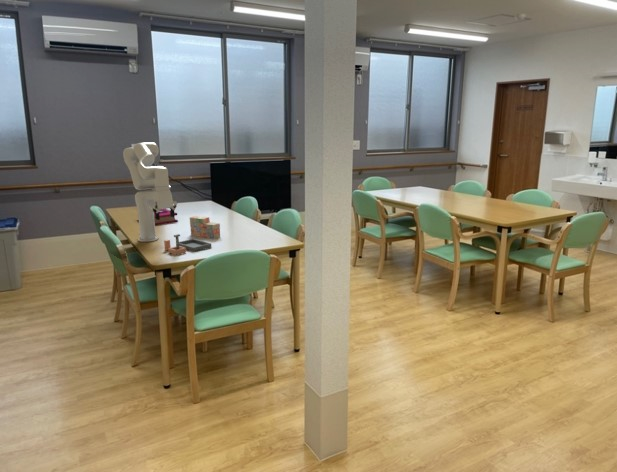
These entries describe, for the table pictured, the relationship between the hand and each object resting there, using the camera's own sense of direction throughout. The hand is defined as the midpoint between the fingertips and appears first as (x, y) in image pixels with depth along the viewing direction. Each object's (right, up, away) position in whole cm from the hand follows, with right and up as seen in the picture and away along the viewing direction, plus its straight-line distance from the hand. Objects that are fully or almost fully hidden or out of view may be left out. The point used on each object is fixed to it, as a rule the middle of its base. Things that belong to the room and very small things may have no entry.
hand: (165, 218), depth 272 cm
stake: (+8, -20, -2) cm, 22 cm away
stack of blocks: (+15, -11, +38) cm, 43 cm away
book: (-32, +1, +87) cm, 93 cm away
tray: (+14, -17, +11) cm, 25 cm away
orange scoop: (+5, -20, +1) cm, 20 cm away
